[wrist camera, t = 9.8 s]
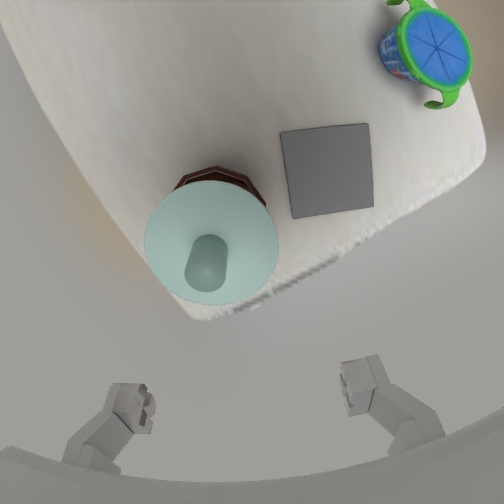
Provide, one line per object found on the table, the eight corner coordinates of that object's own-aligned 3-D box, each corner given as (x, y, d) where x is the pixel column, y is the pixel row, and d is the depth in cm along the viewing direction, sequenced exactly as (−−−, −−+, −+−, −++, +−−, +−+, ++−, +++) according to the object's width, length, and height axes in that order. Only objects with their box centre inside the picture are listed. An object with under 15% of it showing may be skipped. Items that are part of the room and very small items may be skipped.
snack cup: (352, 6, 28) (382, -16, 19) (415, 6, 27) (454, -8, 18) (381, 110, 35) (419, 116, 26) (440, 103, 34) (483, 110, 25)
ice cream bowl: (262, 152, 38) (273, 181, 25) (258, 230, 44) (264, 292, 30) (182, 151, 38) (148, 179, 25) (184, 228, 43) (159, 288, 30)
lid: (131, 196, 25) (109, 218, 21) (266, 168, 25) (271, 184, 20) (169, 305, 31) (159, 339, 26) (284, 288, 30) (291, 322, 26)
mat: (279, 132, 37) (280, 133, 36) (366, 123, 36) (368, 124, 36) (292, 217, 43) (293, 219, 42) (371, 204, 42) (373, 206, 41)
